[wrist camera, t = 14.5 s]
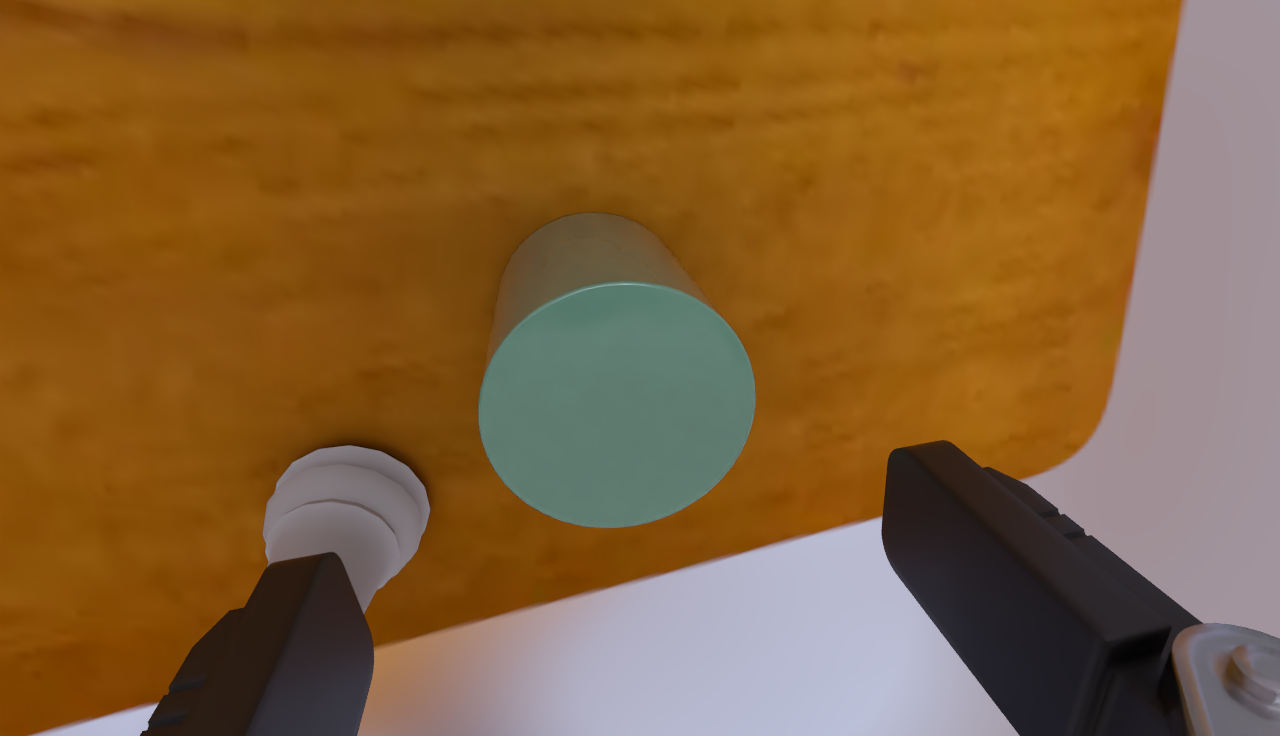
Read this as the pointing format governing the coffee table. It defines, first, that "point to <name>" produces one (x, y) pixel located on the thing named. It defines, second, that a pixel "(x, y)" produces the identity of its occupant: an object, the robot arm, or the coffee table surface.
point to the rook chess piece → (348, 514)
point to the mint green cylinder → (610, 377)
